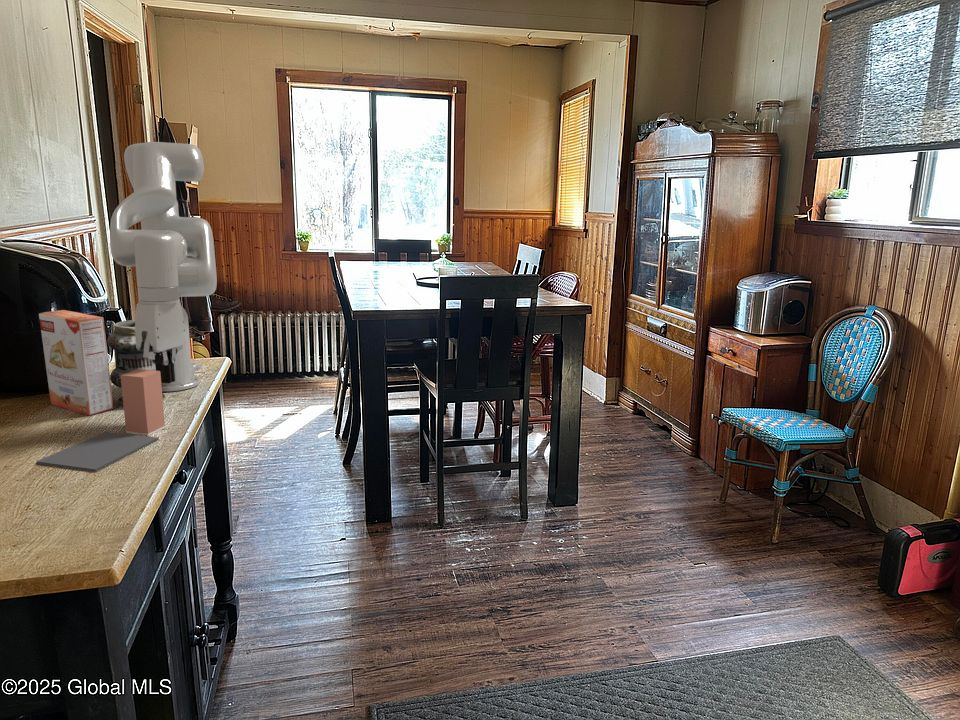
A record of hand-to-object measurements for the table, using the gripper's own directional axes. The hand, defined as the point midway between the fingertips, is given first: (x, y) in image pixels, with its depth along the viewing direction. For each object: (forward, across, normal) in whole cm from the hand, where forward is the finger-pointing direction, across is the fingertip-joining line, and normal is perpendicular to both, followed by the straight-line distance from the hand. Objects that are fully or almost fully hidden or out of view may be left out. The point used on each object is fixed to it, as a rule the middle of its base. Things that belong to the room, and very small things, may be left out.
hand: (166, 381), depth 138 cm
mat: (+8, +19, 0) cm, 21 cm away
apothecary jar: (+8, -10, -15) cm, 20 cm away
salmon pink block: (+8, +7, 0) cm, 11 cm away
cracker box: (+8, -1, -23) cm, 24 cm away
